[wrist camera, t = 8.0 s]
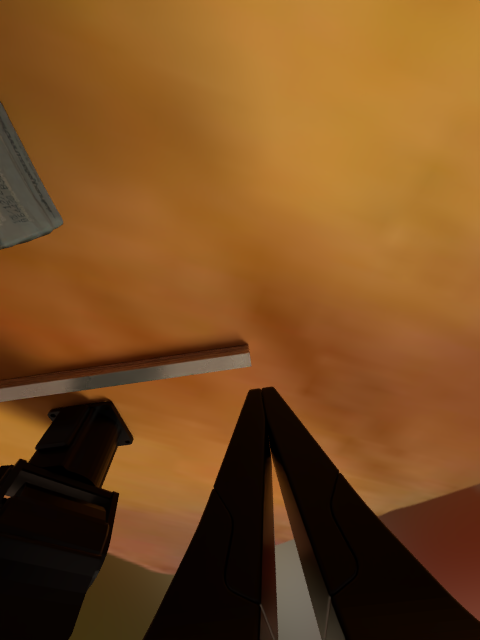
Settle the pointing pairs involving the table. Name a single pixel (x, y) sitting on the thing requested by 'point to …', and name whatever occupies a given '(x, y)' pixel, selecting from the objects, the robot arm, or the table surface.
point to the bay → (125, 373)
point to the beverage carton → (21, 192)
